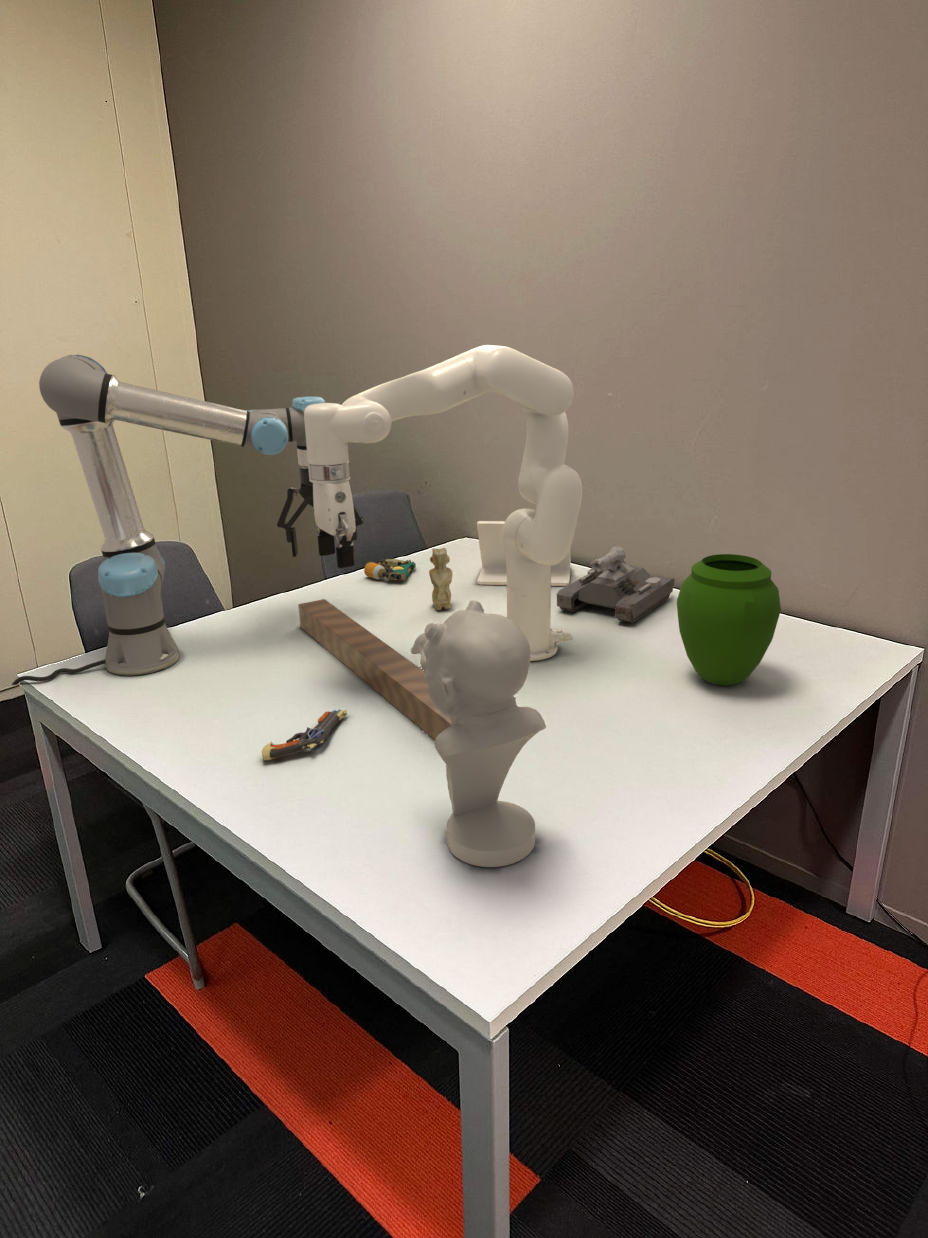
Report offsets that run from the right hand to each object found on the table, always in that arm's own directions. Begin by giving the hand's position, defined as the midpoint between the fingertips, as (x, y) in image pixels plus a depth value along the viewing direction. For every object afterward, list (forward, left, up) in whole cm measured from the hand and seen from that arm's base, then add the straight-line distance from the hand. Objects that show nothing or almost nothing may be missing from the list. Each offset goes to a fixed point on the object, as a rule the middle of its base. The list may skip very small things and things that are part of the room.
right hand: (336, 560), depth 164 cm
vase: (-74, +17, -27) cm, 80 cm away
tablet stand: (-55, -60, -27) cm, 86 cm away
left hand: (+1, -40, -10) cm, 42 cm away
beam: (-7, -3, -27) cm, 28 cm away
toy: (-70, -29, -27) cm, 81 cm away
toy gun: (+9, +20, -27) cm, 35 cm away
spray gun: (-20, -72, -27) cm, 79 cm away
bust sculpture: (-13, +56, -27) cm, 63 cm away
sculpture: (-28, -41, -27) cm, 56 cm away
